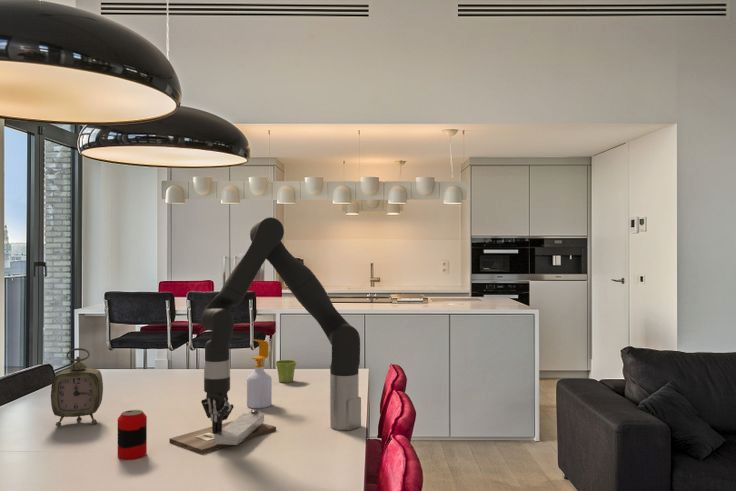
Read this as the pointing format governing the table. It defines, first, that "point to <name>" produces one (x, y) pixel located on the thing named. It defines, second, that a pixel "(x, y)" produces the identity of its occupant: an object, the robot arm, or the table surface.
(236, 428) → the swing arm
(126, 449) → the soda can
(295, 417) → the table surface
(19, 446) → the table surface
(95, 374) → the tabletop clock
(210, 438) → the label panel
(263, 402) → the soap bottle
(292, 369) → the plant pot
